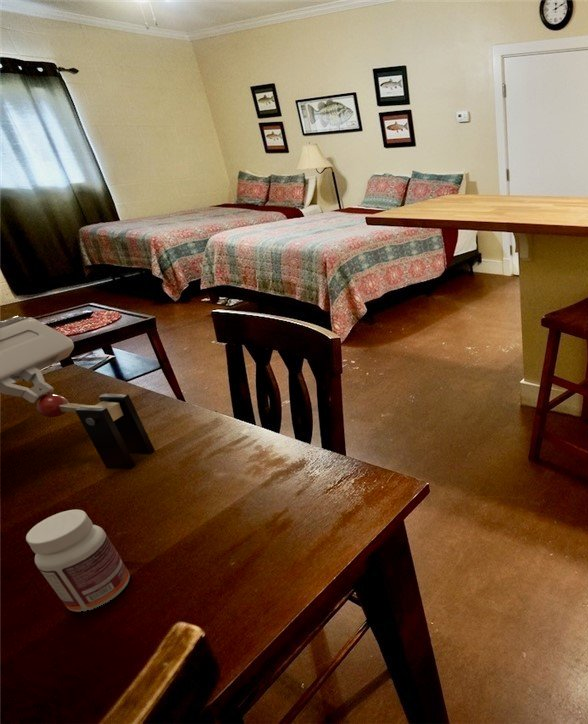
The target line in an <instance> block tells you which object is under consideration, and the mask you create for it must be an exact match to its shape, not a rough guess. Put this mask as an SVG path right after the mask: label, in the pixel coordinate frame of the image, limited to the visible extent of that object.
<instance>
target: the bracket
mask: <svg viewBox="0 0 588 724" xmlns="http://www.w3.org/2000/svg"><path fill="white" fill-rule="evenodd" d="M98 399H99V401H100V402H102V401H106V402H116V403H119V404H120V407H121V409H122V412H123V414H124V415H123V416H121V417H120V418H118V419H117V420H115V421H113V419H112V417H111V415H110V413H109V411H108V409H107V408H98V407H80V408H78V409H76V410H75V411H76V413H75V414H76V415H77V417H78V419H79V421H80V422H81V424H82V426H83V428H84V430H85V431H86V433H87V435H88V437H89V439H90V441H91V443H92V444H93V446H94V448H95V450H96V452H97V454H98V456H99V457H100V459H101V461H102V463H103V464H104V467H105V468H106V469H113V470H132V469H133V468H134V467H136V466H137V464H136V462H135V461H134V460H133V459H134V458H133V457H132V455H131V454H138V455H152V454H153V453H154V452H155V451H156V450H155V448H154V446H153V443H152V440H151V439H150V437H149V435H148V433H147V431H146V429H145V426H144V425H143V421H142V420H141V418H140V416H139V414H138V411H137V409H136V408H135V405H134V403H133V401H132V399H131V396H130V395H129V394H122V393H121V394H120V393H119V394H118V393H117V394H116V393H103V394H100V395H99V396H98Z"/></svg>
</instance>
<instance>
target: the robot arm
mask: <svg viewBox="0 0 588 724" xmlns="http://www.w3.org/2000/svg"><path fill="white" fill-rule="evenodd" d="M74 348H75V344H74V341H73V340H72V339H71V338H70V337H68V336H66V335H65V334H63V333H61V332H60V331H58V330H56V329H54V328H52V327H51V326H48V325H47V324H44V323H42V322H40V321H39V320H38V319H36V318H34V317H26V316H18V315H17V316H12V317H9V318H8V319H5V320H2V321H0V394H2V395H7V396H11V397H18V398H23V399H24V400H26V401H27V402H29V403H31V404H34V403H36V402H39V401H40V400H41V399H42V398H43V397H46V396H49V395H53V393H54V391H55V387H53V386H52V385H50V384H49V383H47V382H46V379H45V377H44V375H43V373H42V371H41V370H42V369H45V368H46V367H49V366H51V365H54V364H56V363H58V362H60V361H62V360H65V359H67V358H68V357H69V356H70V355H71V353H72V352H73V350H74ZM21 379H22V380H24V381H25V382H26V383H29V382H32V384H33V386H31V387H27V386H22V385H19V384H16V383H17V381H19V380H21Z"/></svg>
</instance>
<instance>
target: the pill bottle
mask: <svg viewBox="0 0 588 724" xmlns="http://www.w3.org/2000/svg"><path fill="white" fill-rule="evenodd" d="M25 541H26V543H27V544H28V545H29V546H30V549H31V550H32V552H33V553H34V554H35V555H34V564H35V566H36V568H37V569H38V570H39V571H40V573H41V575H42V576H43V577H44V579H46V581H47V583H48V584H49V585H50V587H51V588H52V589H53V591H54V592H55V594H56V595H57V596H58V598H59V599H60V600H61V602H62V603H63V605H64V606H65V607H66V608H67V609H68V610H69V611H71V612H75V613H82V612H81V611H83V612H88V611H87V610H89V611H92V610H95V609H98V608H100V607H102V606H104V605H106V604H107V603H109V602H110V600H111V601H112V600H113V599H115V598H117V596H118V595H120V593H122V592H123V591H124V589H125V588H126V587H127V586H128V583H129V582H130V578H131V575H130V571H129V570H128V568H127V566H126V565H125V563H124V561H123V560H122V558H121V556H120V555H119V553H118V551H117V549H116V547H115V546H114V544H113V543H112V542H111V540H110V539H109V537H108V535H107V534H106V532H105V530H104V529H103V528H102V527H101V526H99V525H96V524H93V522H92V520H91V518H90V517H89V516H88V514H87V513H86V512H85V511H84V510H82V509H69V510H65V511H60V512H58V513H56V514H53V515H51V516H48V517H47V518H45V519H43V520H41V521H40V522H38V523H36V524H35V525H34V526H33V527H32V528H31V529H29V531H27V534H26V536H25ZM105 603H106V604H105ZM103 604H104V605H103ZM101 605H102V606H101ZM99 606H100V607H99ZM97 607H98V608H97ZM94 608H95V609H94Z"/></svg>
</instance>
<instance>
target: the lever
mask: <svg viewBox="0 0 588 724" xmlns="http://www.w3.org/2000/svg"><path fill="white" fill-rule="evenodd" d="M80 407H98V408H107V409H108V411H109V413H110V415H111V417H112V419H113V421H115V420H117V419H118V418H120V417H121V416H123V415H124V414H123V412H122V409H121V407H120V404H119V403H116V402H106V401H102V402H101V401H100V402H98V403H96V404H95V405H90V404H82V403H81V404H79V403H70V402H69V400H68V399H67V398H66V397H64V396H63V395H59V394H50V395H48V396H46V397H43V398H42V399H40V400H38V401H37V404H36V409H37V411H38V413H39V414H40V415H42V416H44V417H48V418H57V417H61V416H62V415H64V414H66V413H75V414H77V413H76V411H75V410H76V409H78V408H80Z"/></svg>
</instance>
